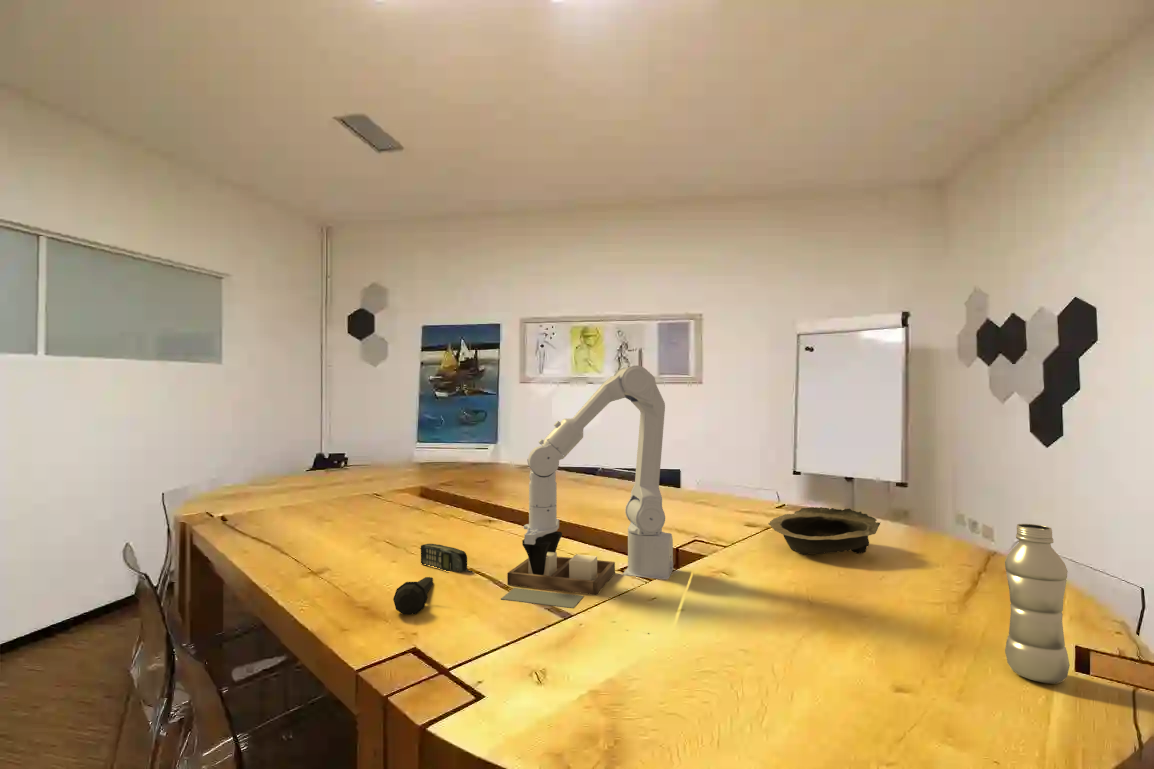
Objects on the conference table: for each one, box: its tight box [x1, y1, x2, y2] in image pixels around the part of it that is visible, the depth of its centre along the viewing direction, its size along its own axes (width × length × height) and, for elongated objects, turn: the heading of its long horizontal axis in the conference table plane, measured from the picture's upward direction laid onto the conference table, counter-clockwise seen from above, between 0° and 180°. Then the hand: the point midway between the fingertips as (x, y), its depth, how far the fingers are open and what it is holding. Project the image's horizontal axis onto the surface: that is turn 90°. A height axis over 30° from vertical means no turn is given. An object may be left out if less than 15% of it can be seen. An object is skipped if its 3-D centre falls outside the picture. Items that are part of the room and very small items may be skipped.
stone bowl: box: [768, 506, 881, 556], centre depth 134 cm, size 25×25×9 cm
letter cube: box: [527, 551, 558, 576], centre depth 113 cm, size 4×4×5 cm
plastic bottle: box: [1004, 523, 1071, 684], centre depth 73 cm, size 6×7×20 cm
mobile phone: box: [420, 543, 473, 574], centre depth 120 cm, size 5×3×15 cm
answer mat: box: [500, 587, 585, 609], centre depth 101 cm, size 14×6×1 cm, turn 72°
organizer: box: [506, 555, 616, 596], centre depth 112 cm, size 18×14×3 cm
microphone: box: [392, 576, 434, 616], centre depth 102 cm, size 6×6×20 cm
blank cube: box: [569, 553, 598, 581], centre depth 110 cm, size 4×4×4 cm
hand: (542, 571), depth 113 cm, fingers closed on letter cube, 4 cm apart
